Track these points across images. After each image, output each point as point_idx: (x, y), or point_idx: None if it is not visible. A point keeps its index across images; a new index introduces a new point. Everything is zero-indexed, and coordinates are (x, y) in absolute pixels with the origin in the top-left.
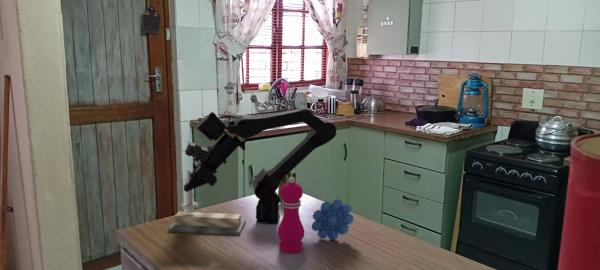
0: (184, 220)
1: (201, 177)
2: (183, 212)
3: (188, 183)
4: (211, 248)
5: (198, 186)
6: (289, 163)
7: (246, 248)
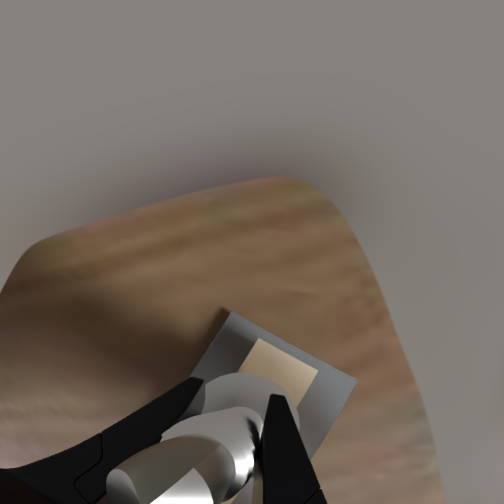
0: None
1: None
2: (294, 393)
3: (126, 417)
4: (29, 403)
5: None
6: None
7: None
